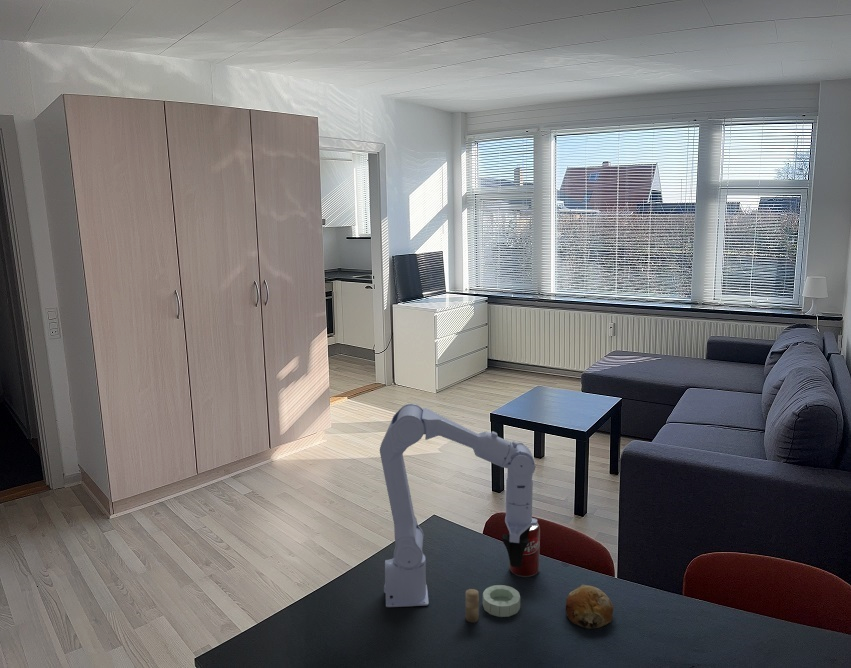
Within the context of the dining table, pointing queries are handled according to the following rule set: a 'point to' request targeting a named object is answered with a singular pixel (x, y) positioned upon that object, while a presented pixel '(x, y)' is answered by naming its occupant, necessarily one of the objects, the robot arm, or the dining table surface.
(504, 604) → the sage green bowl
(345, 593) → the dining table surface
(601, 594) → the bread roll
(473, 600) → the dowel
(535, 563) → the soda can
